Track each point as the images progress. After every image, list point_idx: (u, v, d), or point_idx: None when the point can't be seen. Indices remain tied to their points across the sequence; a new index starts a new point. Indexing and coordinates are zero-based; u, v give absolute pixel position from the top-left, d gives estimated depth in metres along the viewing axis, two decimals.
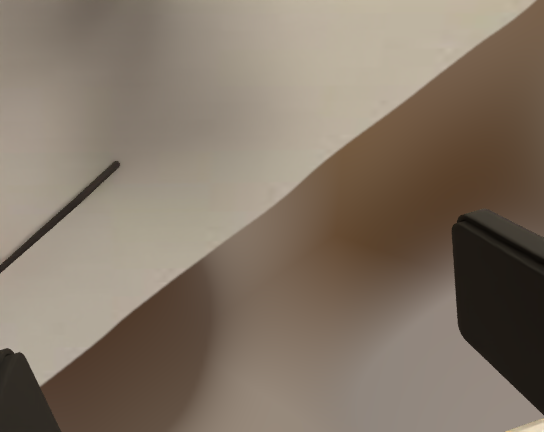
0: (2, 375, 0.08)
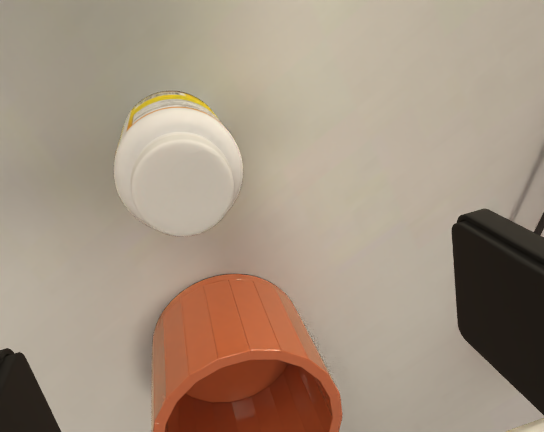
0: (2, 375, 0.08)
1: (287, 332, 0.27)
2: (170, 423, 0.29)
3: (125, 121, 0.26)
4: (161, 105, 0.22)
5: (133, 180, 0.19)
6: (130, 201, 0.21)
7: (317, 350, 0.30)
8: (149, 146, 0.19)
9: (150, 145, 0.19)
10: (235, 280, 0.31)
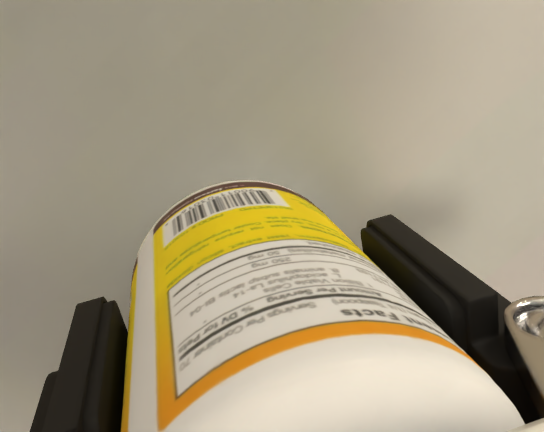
0: (106, 316, 0.10)
1: None
2: None
3: (139, 259, 0.11)
4: (266, 294, 0.07)
5: None
6: None
7: None
8: None
9: None
10: None
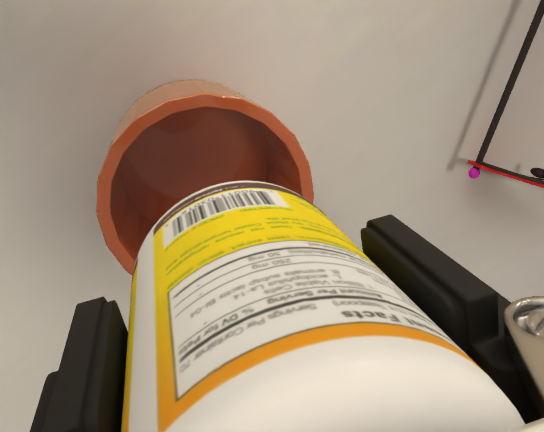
0: (105, 316, 0.10)
1: None
2: (125, 221, 0.26)
3: (139, 260, 0.11)
4: (266, 296, 0.07)
5: None
6: None
7: None
8: None
9: None
10: (198, 80, 0.29)
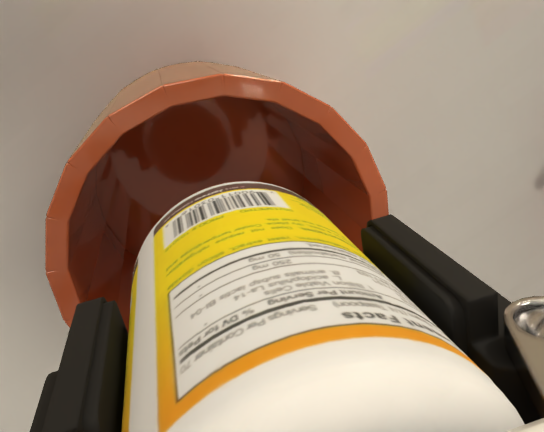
0: (105, 316, 0.10)
1: None
2: (100, 270, 0.17)
3: (140, 261, 0.11)
4: (267, 297, 0.07)
5: None
6: None
7: None
8: None
9: None
10: (209, 62, 0.20)
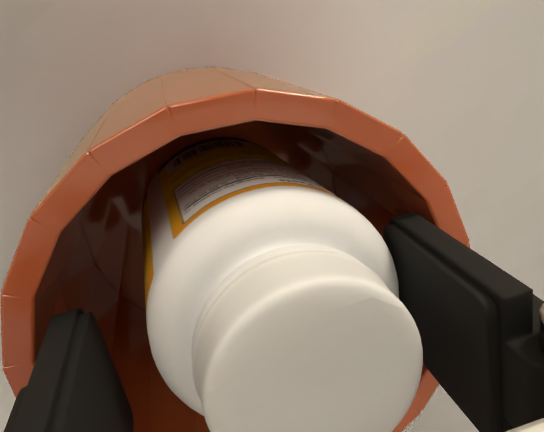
0: (80, 329, 0.09)
1: None
2: None
3: (148, 191, 0.15)
4: (235, 177, 0.11)
5: (209, 377, 0.08)
6: (184, 386, 0.10)
7: None
8: (238, 286, 0.08)
9: (241, 284, 0.08)
10: (223, 68, 0.16)
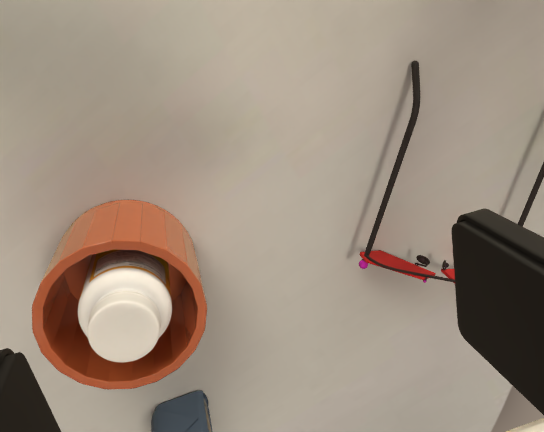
0: (2, 375, 0.08)
1: (156, 234, 0.31)
2: (63, 324, 0.33)
3: None
4: (116, 260, 0.31)
5: (89, 326, 0.27)
6: None
7: (194, 258, 0.34)
8: (102, 301, 0.28)
9: (103, 300, 0.28)
10: (126, 203, 0.36)
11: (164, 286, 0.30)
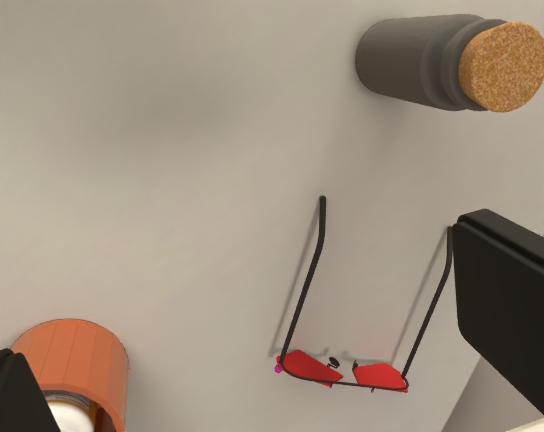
0: (2, 375, 0.08)
1: (81, 367, 0.36)
2: None
3: None
4: (45, 392, 0.36)
5: None
6: None
7: (118, 379, 0.39)
8: None
9: None
10: (62, 324, 0.41)
11: (85, 415, 0.35)
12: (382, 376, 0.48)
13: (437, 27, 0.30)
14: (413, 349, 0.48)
